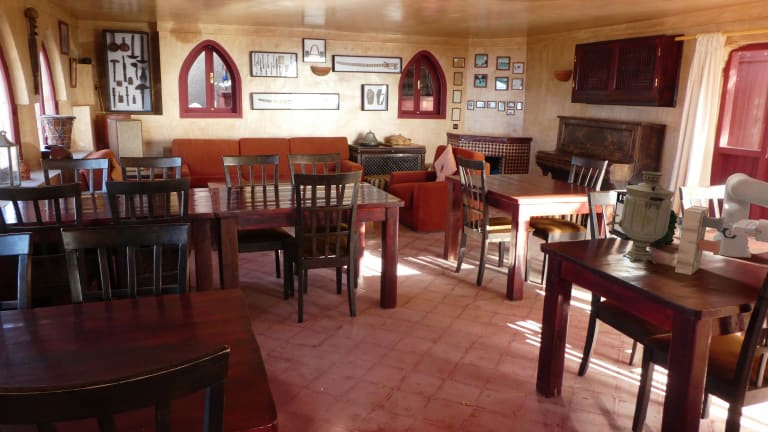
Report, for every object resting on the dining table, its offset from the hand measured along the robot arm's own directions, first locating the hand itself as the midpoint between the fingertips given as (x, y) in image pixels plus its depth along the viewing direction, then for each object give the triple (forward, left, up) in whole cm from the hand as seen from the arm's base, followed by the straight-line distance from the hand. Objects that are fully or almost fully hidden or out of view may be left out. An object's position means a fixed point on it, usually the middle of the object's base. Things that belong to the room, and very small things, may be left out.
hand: (723, 224), depth 232 cm
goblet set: (-68, -39, -22) cm, 82 cm away
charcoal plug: (0, -5, -3) cm, 6 cm away
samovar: (0, -34, -22) cm, 40 cm away
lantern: (-48, -50, -22) cm, 73 cm away
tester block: (0, -10, -22) cm, 24 cm away
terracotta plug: (0, -5, -13) cm, 14 cm away
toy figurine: (-39, -32, -22) cm, 55 cm away
